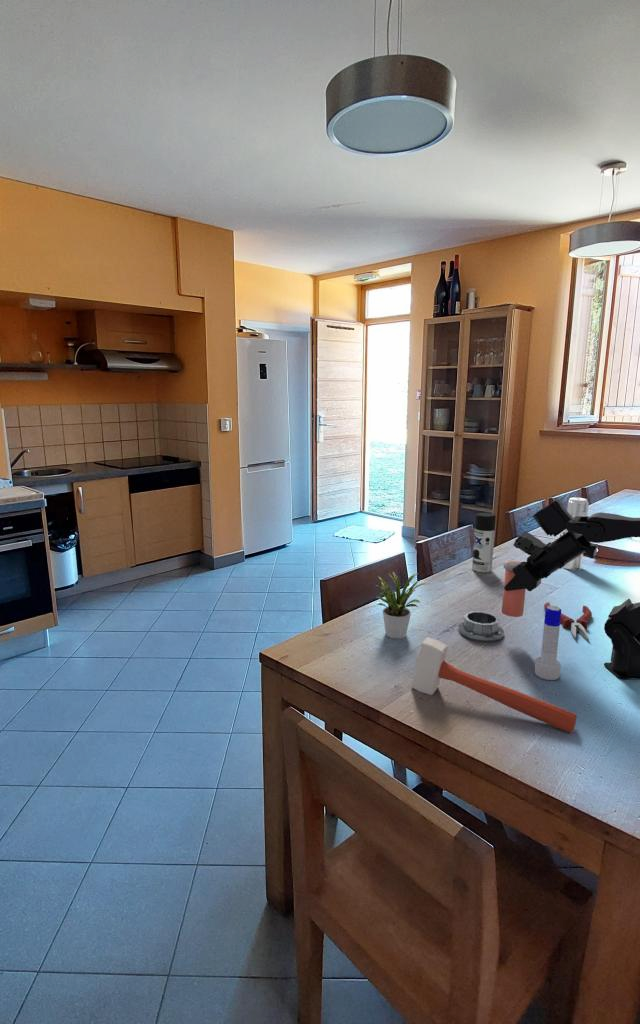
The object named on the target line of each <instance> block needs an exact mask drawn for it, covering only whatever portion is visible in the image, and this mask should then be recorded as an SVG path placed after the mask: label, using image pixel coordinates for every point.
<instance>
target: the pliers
mask: <svg viewBox="0 0 640 1024" xmlns="http://www.w3.org/2000/svg"><path fill="white" fill-rule="evenodd" d="M547 606H551V603H550V602H545V603H544V605H543V608H544V610H545V609H546V607H547ZM581 611H582V613H583V615H581V616H580V617H579V618H577V619H576V621H575V620H574V618H571V617H569V616H567V615H565V614H564V613H562V612H561V619H560V624H562V625H561V626H562V628H564V629H565V628H568V629H570V633H571V634H572V636H573V638H574V639H575V640H576V639H577V632H579V635H580V636H581V637H583V638H585V639H586V640H587V641H589V640H590V637H589V635H588V633H587V630H588V627H589V626H588V625H589V622H590V621H591V619H592V616H593V614H592V613H593V612H592V611H591V610H590V608H589V606H586V605H583V606H582V610H581Z"/></svg>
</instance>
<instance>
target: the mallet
mask: <svg viewBox="0 0 640 1024" xmlns="http://www.w3.org/2000/svg"><path fill="white" fill-rule="evenodd" d="M447 652H448V645H447V644H445V643H443V642H441V641H440V640H438V639H434V638H432V637H428V636H427V637H426V638H425V639H424V640H423V641H422V642H421V647H420V650H419V653H418V656H417V658H416V661H415V665H414V671H413V672H414V673H413V677H412V681H411V683H410V687H411V688H413V689H414V690H416V691H418V692H419V693H420V692H421V693H424V694H428V695H429V696H431V695H434V693H435V692H436V691H437V689H439V685H440V682H441V679H443V680H447V681H452V682H455V683H456V684H459V685H461V686H464V687H466V688H468V689H470V690H473V691H474V692H477V693H478V694H480V695H482V696H485V697H487V698H490V699H492V700H494V701H496V702H498V703H500V704H502V705H503V706H504V705H505V706H506V707H508V708H511V709H512V710H514V711H516V712H520V713H521V714H524V715H526V716H528V717H531V718H533V719H535V720H537V721H540V722H542V723H545V724H546V725H549V726H552V727H554V728H557V729H558V730H562V731H564V732H566V733H569V734H572V733H573V732H575V727H576V723H577V719H578V716H577V713H574V712H572V711H569V710H566V709H565V708H562V707H559V706H557V705H554V704H552V703H549V702H546V701H544V700H541V699H538V698H536V697H533V696H531V695H528V694H526V693H523V692H520V691H518V690H516V689H513V688H509V687H507V686H504V685H501V684H498V683H496V682H492V681H491V680H487V679H484V678H482V677H479V676H476V675H474V674H471V673H469V672H466V671H463V670H461V669H458V668H456V667H454V666H453V665H451V664H450V663H448V662H446V658H447Z"/></svg>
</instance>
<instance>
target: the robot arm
mask: <svg viewBox="0 0 640 1024" xmlns="http://www.w3.org/2000/svg"><path fill="white" fill-rule="evenodd" d="M531 517H532V519H533V520H534V521H535V522H536V524H537V525H538V526H539V528H541V529H542V530H543V532H544V533H545V535H547V536H550V537H552V536H553V537H555V538H556V537H557V536H558V535H559V534H561V533H562V532H564V534H563V535H561V536H559V537H558V538H556V539H555V540H554V541H552V542H551V541H549V542H548V543H544V542H543V541H542V540H540V539H539V538H538V537H536V536H535V535H533V534H531V533H530V532H528V531H523V532H521V533H519V535H518V536H517V538H516V539H515V540H514V543H513V544H512V545H513V547H515V548H516V549H519V550H520V551H522V552H524V553H525V554H527V555H529V556H528V557H527V558H526V561H525V560H523V561H521V563H520V564H518V565H517V566H516V567H514V568H513V569H512V570H513V572H514V574H515V576H514V577H513V578H512V579H511V580H510V581H509V582H508V583H507V584H506V585H505V587H504V586H503V590H504V589H505V590H506V591H511V590H519V589H526V590H527V591H528V592H532V591H534V589H537V588H538V587H539V586H540V585H541V584H542V580H543V579H547V578H549V576H551V574H553V573H555V572H556V571H558V570H561V569H562V568H563V567H564V566H565V565H566V564H567V563H569V562H570V561H572V560H574V559H575V558H577V557H578V556H580V555H581V554H583V555H584V553H586V554H587V556H588V557H589V559H593V558H595V557H596V556H597V551H598V547H599V544H600V543H607V542H614V541H618V540H623V539H627V538H629V539H630V538H640V517H630V516H624V515H620V514H616V513H609V512H608V513H607V512H595V513H593V514H592V515H590V516H588V515H587V516H575V517H574V518H573V517H572V516H571V515H570V514H569V513H568V512H567V509H566V508H565V507H564V504H563V503H562V502H561V501H560V500H559V499H556V500H554V501H553V502H551V503H550V504H548V505H546V506H545V507H543V508H540V510H539V511H537V512H536V513H534V514H533V515H532V516H531ZM565 529H567V530H568V532H567V533H565ZM580 534H581V535H580ZM603 625H604V628H603V630H604V633H605V635H606V637H608V638H609V640H610V641H611V645H612V649H611V656H610V662H603V663H604V664H603V665H604V666H605V668H607V669H608V670H609V671H610V672H611V673H613V675H615V676H616V677H617V678H618V679H620V680H633V679H634V680H640V602H635V603H633V602H632V600H631V599H630V598H628V599H625V601H624V602H623V603H621V604H619V605H616V606H615V605H613V607H612V609H611V610H610V612H609V614H608V616H607V620H606V621H605V623H604V624H603Z"/></svg>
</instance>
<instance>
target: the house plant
mask: <svg viewBox="0 0 640 1024" xmlns="http://www.w3.org/2000/svg"><path fill="white" fill-rule="evenodd" d="M392 574H393V576H392ZM392 574H390V573H389V572H388V575H389V576H390V577H391V578H392V580H393V583H394V586H395V590H391V588H390V586H389V584H388V583H387V582H386V580H384V579H383V578H382V577H381V576H379V575H377V578H378V579H379V580H380V584H381V586H379V585H377V584H376V586H377V587H380V589H381V591H382V592H381V593H379V595H383V596H384V598H383V597H380V596H376V598H377V599H379V600H381V601H382V602H383V603H382V602H380V603H377V604H376V606H383V607H385V608H383V609H382V615H383V623H384V631H385V635H386V636H387V637H389V638H391V639H395V640H397V639H403V638H405V637H406V636H407V633H408V629H409V623H410V618H411V613H412V611H411V610H410V609H408V607H416V608H418V609H419V607H418V605H417V604H415V603H419V604H421V601H420V600H418V599H412V600H410V601H408V599H410V597H411V595H412V594H413V593H414V592H416V589H417V588H419V587H420V586H424V585H429V583H426V582H425V583H424V582H423V583H420V582H421V581H419V580H418V581H416V582H413V584H412V585H411V586H410V587H409V585H410V584H411V583H412V581H413V579H414V577H415V576H417V575H418V574H419V573H415V574H412V575H410V577H408V578H407V580H406V581H405V583H404V584H403V586H402V587H403V588H402V590H401V583H400V579H399V577H398V575H397V574H396V573H395V572H394V571H392ZM418 583H420V584H418ZM408 587H409V588H408ZM407 601H408V603H407ZM384 603H386V604H387V605H386V604H384Z"/></svg>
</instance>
